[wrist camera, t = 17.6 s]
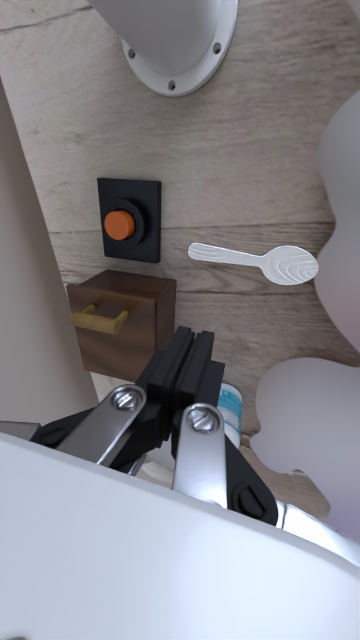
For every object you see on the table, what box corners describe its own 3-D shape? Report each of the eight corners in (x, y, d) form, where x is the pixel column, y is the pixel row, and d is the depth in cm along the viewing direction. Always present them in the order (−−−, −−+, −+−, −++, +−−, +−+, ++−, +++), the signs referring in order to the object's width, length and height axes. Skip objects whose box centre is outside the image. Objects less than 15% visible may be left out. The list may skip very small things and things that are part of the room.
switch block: (102, 178, 36) (88, 177, 33) (161, 181, 34) (151, 181, 31) (109, 254, 41) (97, 259, 38) (160, 261, 39) (152, 267, 36)
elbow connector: (181, 398, 50) (115, 417, 59) (172, 451, 42) (97, 464, 51) (225, 439, 58) (160, 450, 67) (225, 491, 50) (151, 496, 59)
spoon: (190, 231, 36) (189, 231, 35) (324, 250, 32) (325, 251, 32) (186, 267, 38) (185, 268, 38) (310, 288, 35) (310, 290, 34)
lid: (69, 283, 34) (42, 299, 30) (155, 298, 31) (138, 318, 27) (87, 367, 42) (67, 388, 38) (156, 384, 39) (143, 409, 35)
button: (110, 209, 34) (103, 210, 33) (134, 211, 34) (128, 212, 32) (112, 236, 36) (105, 238, 34) (135, 238, 35) (129, 241, 34)
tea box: (106, 269, 43) (73, 287, 35) (176, 279, 40) (157, 301, 32) (113, 339, 50) (87, 366, 42) (173, 352, 47) (156, 384, 40)
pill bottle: (227, 415, 51) (217, 482, 39) (197, 395, 50) (179, 456, 39) (251, 396, 47) (248, 464, 35) (219, 374, 46) (206, 436, 35)
